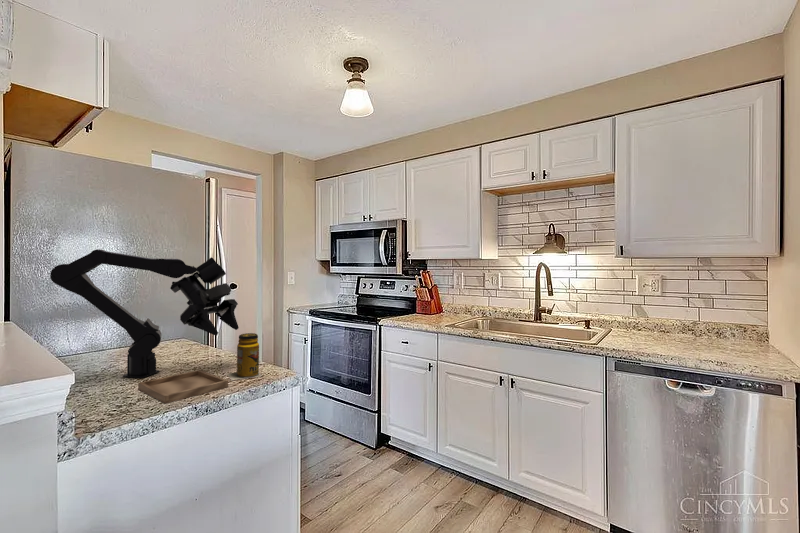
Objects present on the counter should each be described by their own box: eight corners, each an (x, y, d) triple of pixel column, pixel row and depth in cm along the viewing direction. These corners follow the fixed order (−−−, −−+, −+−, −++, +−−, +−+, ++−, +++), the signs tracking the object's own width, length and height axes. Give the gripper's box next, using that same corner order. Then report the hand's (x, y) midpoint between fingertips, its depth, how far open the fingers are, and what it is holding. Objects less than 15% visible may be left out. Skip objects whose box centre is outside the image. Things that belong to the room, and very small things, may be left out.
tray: (164, 403, 92) (164, 396, 91) (138, 389, 101) (138, 382, 101) (228, 386, 104) (228, 380, 104) (199, 375, 113) (199, 369, 113)
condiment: (262, 376, 114) (263, 335, 114) (231, 380, 109) (232, 338, 109) (256, 370, 120) (257, 331, 120) (226, 374, 115) (227, 333, 115)
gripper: (189, 276, 108) (223, 317, 106) (232, 274, 126) (262, 309, 124) (165, 303, 110) (198, 344, 108) (211, 297, 128) (240, 332, 126)
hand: (227, 331), depth 116 cm, fingers open, 9 cm apart
